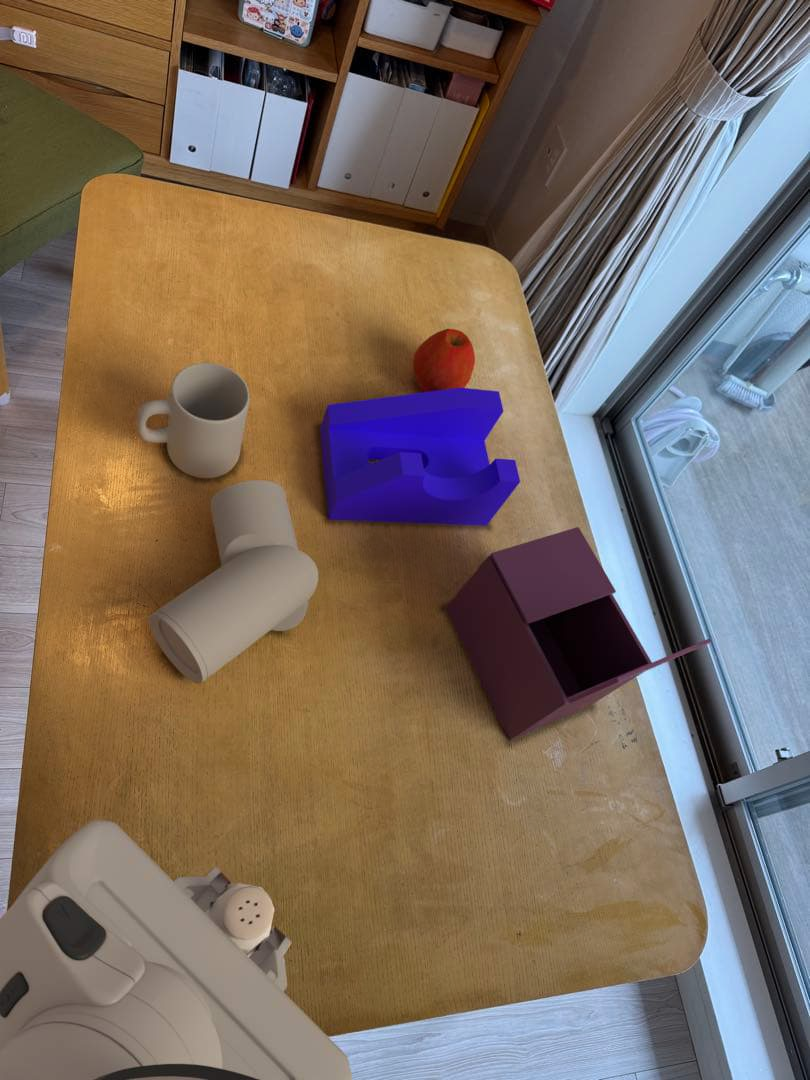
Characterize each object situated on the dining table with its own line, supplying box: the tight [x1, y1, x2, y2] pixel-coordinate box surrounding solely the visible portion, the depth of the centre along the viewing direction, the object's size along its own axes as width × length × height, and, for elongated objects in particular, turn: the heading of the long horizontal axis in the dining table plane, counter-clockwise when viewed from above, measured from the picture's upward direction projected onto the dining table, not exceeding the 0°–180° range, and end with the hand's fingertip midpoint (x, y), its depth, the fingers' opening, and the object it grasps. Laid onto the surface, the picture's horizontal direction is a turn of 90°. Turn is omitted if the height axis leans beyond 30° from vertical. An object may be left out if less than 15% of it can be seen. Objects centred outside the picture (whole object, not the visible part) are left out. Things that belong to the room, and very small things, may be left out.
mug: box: [136, 362, 251, 479], centre depth 88 cm, size 12×8×11 cm
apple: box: [412, 328, 476, 392], centre depth 105 cm, size 8×8×11 cm
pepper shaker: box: [205, 882, 275, 957], centre depth 48 cm, size 5×5×11 cm
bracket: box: [319, 387, 521, 526], centre depth 96 cm, size 21×14×10 cm, turn 98°
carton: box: [444, 526, 653, 741], centre depth 86 cm, size 17×12×14 cm
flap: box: [569, 638, 712, 703], centre depth 74 cm, size 8×12×1 cm
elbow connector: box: [148, 479, 319, 685], centre depth 81 cm, size 18×10×20 cm
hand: (246, 910), depth 48 cm, fingers closed on pepper shaker, 4 cm apart
